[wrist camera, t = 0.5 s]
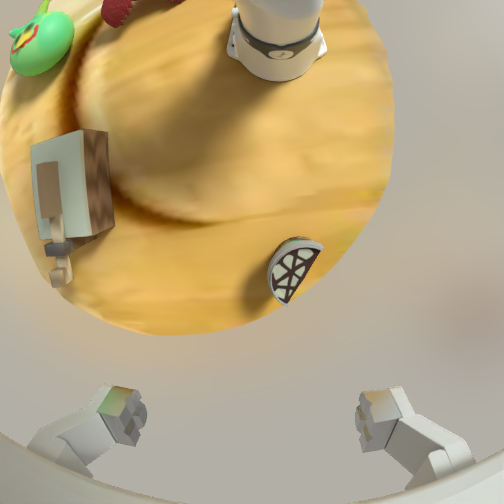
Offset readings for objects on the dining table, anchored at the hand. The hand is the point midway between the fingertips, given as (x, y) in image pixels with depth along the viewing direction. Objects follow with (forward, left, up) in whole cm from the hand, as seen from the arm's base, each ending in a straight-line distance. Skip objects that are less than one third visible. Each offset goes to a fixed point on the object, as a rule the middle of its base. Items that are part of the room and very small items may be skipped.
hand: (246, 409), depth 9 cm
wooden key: (+3, -39, -36) cm, 53 cm away
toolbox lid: (-9, -39, -38) cm, 55 cm away
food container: (+8, +4, -46) cm, 47 cm away
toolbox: (-7, -39, -46) cm, 60 cm away
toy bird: (-45, -48, -46) cm, 81 cm away
